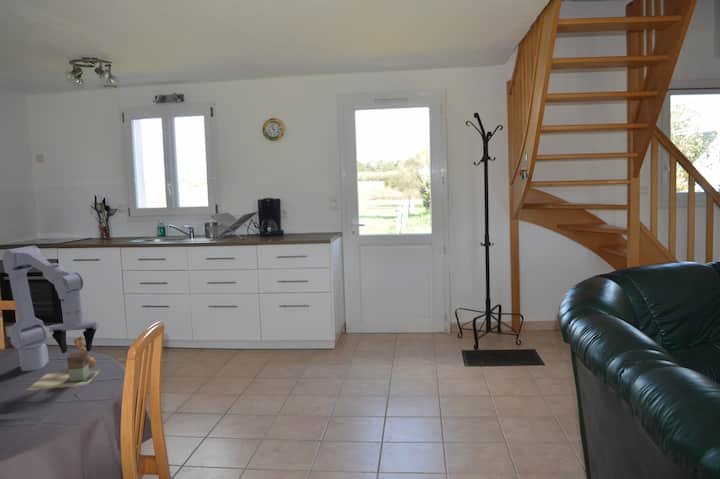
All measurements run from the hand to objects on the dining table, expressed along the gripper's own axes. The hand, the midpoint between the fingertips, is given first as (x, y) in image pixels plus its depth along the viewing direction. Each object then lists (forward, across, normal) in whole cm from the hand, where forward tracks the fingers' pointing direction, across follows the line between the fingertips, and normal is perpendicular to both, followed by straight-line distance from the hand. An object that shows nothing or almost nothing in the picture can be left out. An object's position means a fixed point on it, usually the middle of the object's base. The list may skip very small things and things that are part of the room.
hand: (76, 351), depth 176 cm
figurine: (+11, -2, +12) cm, 16 cm away
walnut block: (+5, 0, 0) cm, 5 cm away
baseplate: (+10, -4, 0) cm, 11 cm away
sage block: (+9, 0, 0) cm, 9 cm away
